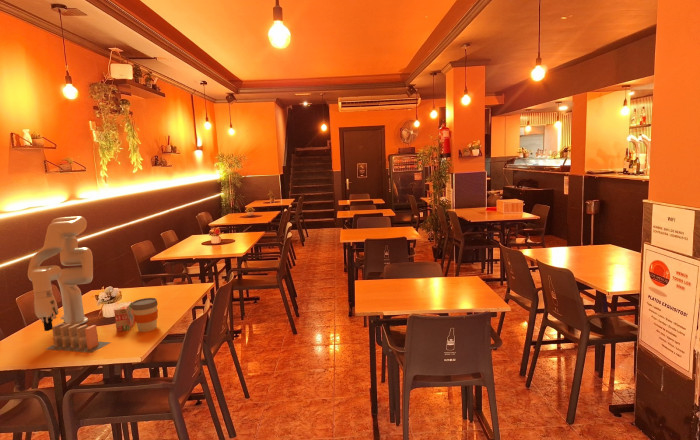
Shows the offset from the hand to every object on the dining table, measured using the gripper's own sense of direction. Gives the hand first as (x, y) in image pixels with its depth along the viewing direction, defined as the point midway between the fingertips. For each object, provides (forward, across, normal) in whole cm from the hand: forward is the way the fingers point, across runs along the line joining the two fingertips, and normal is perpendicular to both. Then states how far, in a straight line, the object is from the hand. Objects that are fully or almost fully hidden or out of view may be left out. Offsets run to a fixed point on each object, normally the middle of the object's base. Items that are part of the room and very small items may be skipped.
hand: (48, 329), depth 229 cm
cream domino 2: (+7, -11, 0) cm, 13 cm away
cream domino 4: (+7, -21, 0) cm, 22 cm away
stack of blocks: (+8, -19, -31) cm, 37 cm away
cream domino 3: (+7, -16, 0) cm, 17 cm away
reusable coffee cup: (+8, -36, -26) cm, 45 cm away
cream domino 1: (+7, -6, 0) cm, 9 cm away
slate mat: (+8, -17, 0) cm, 19 cm away
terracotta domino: (+7, -26, 0) cm, 27 cm away
